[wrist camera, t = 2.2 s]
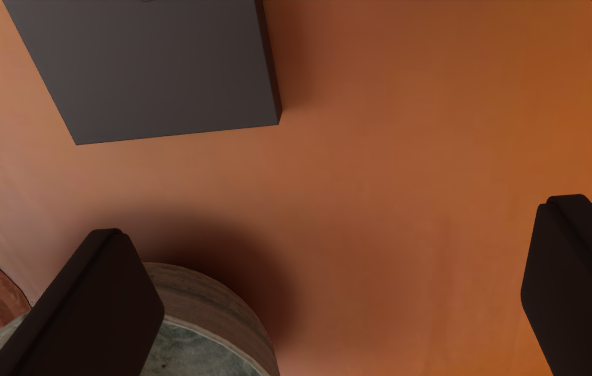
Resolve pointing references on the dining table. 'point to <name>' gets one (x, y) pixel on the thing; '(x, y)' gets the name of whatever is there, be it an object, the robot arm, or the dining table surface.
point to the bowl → (199, 329)
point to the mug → (11, 301)
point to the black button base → (152, 65)
